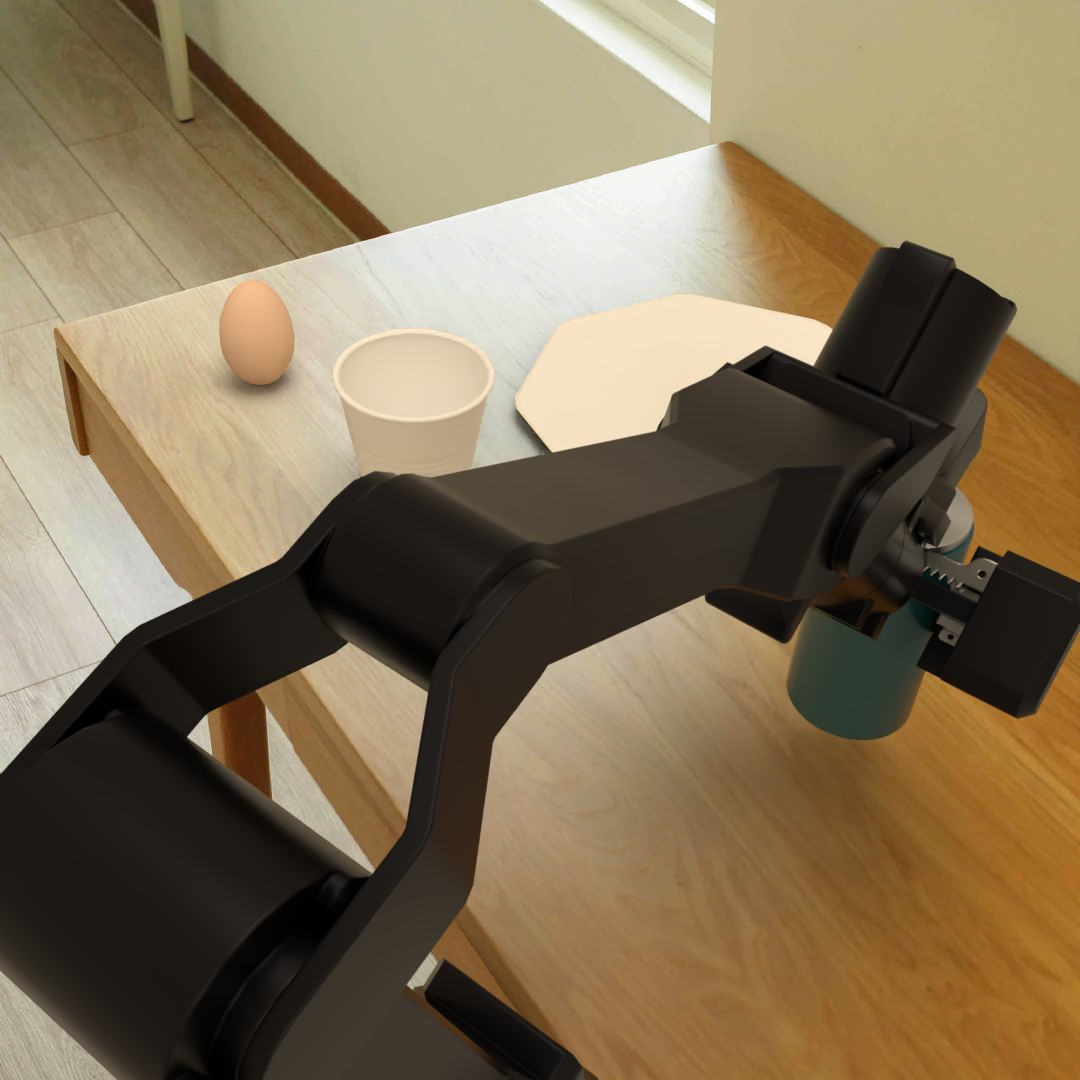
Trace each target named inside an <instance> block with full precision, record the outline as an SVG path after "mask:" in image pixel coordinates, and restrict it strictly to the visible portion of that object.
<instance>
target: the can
mask: <svg viewBox="0 0 1080 1080" xmlns="http://www.w3.org/2000/svg"><path fill="white" fill-rule="evenodd" d="M955 489H956V495H955V497H954V499H953V501H952V503H951V505H950V507H949V509H948V511H947V515H948V517H949V519H950V520H951V523H950V525H949V527H948V529H947V531H946V533H945V535H944V537H943V539H942V541H941V542H940V544H939V546H938V547H934V546H932V545H930V544H928V543H927V544H926V546H925V548H928V549H930V550H932V551H934V552H936V553H938V554H941V555H943V556H945V557H947V558H949V559H951V560H954V561H956V562H958V563H960V564H962V565H965V562H966V558H967V556H968V552H969V550H970V547H971V545H972V541H973V538H974V535H975V522H974V511H973V507H972V504H971V502H970V501H969V499H968V497H967V496H966V495H965V493H964V492H963V491H962V490H961V489H960V488H959V487H958V486H956V488H955ZM930 570H931V569H929V570H928V571H926V572H925V573H923V574H922V577H924V578H927V579H929V580H931V581H933V582H935V583H937V584H939V585H941V586H943V587H946V588H948V589H950V590H952V591H953V589H954V587H955V585H956V581H954V582H953V583H951V584H950V585H949V584H947V576H946V577H945V578H944V579H943V580H942V581H940V580H939V579H938V577H939V573H937V574H936V575H935V576H934V577H932V576H930ZM940 614H941V613H940V612H938V611H936V610H934V609H931V608H929V607H927V606H925V605H923V604H921V603H919V602H917V601H915V600H913V599H911V598H910V599H909V600H908V602H907V603H906V604H905V605H904V606H902V607H901V608H900V609H899V610H897V611H896V612H895V613H893V614H890V615H889V617H888V619H887V621H886V623H885V625H884V627H883V629H882V630H881V632H880V634H879V636H878V638H877V640H876V641H875V640H873V639H871V638H869V637H867V636H865V635H863V634H861V633H859V632H857V631H855V630H853V629H851V628H849V627H847V626H845V625H843V624H841V623H839V622H837V621H835V620H833V619H831V618H829V617H827V616H825V615H823V614H821V613H819V612H817V611H815V610H813V609H811V608H809V607H808V609H807V611H806V613H805V615H804V617H803V618H802V620H801V622H800V624H799V626H798V630H797V635H796V639H795V643H794V647H793V651H792V655H791V659H790V662H789V667H788V670H787V673H786V682H785V683H786V691H787V695H788V698H789V700H790V702H791V703H792V704H791V705H793V707H794V709H795V710H796V712H798V714H799V715H800V716H801V717H802V718H803V719H804V720H806V721H807V722H808V723H809V724H811V725H812V726H814V727H815V728H816V729H818V730H820V731H822V732H824V733H827V734H829V735H832V736H835V737H838V738H841V739H847V740H851V741H852V740H853V741H872V740H878V739H882V738H886V737H888V736H891V735H892V734H894V733H896V732H897V731H898V730H900V729H901V728H902V727H903V726H904V725H905V724H906V723H907V722H908V720H909V718H910V716H911V713H912V710H913V708H914V705H915V703H916V699H917V696H918V694H919V690H920V688H921V685H922V682H923V680H924V676H925V674H926V671H925V670H923V669H921V668H919V667H917V666H916V664H917V662H918V660H919V659H920V657H921V655H922V653H923V651H924V649H925V647H926V645H927V643H928V641H929V639H930V637H931V636H932V634H933V632H934V630H935V628H936V626H937V623H936V622H937V620H938V618H939V616H940Z"/></svg>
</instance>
